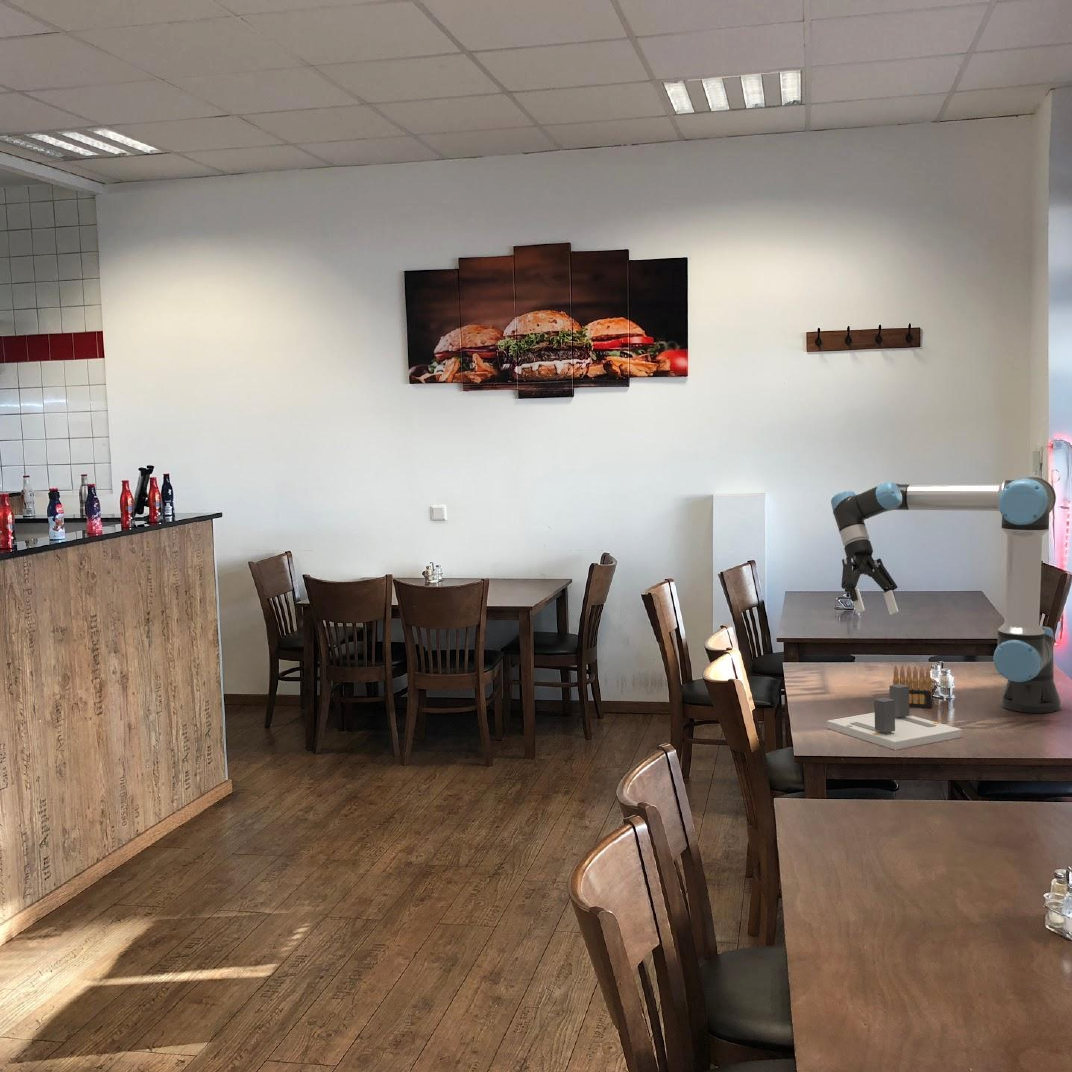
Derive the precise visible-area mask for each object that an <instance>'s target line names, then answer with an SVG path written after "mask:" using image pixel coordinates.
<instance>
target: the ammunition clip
mask: <svg viewBox="0 0 1072 1072" xmlns="http://www.w3.org/2000/svg"><path fill="white" fill-rule="evenodd" d="M898 670H899V669H898V666H897V664H895V665H894V668H893V680H892V685H897V684H902V685H906V686H909V709H911V708H913V709H914V708H915V709H930V710H931V709H933V697H932V678H931V670H930V666H929V665H927V667H926V671H924V668H923V665H921V666H920V668H919V677H918V669H917V665H914V667H913V672H912V671H911V667H910V665H908V666H907V668H906V675H905V668H904V665H901V666H900V671H898ZM899 672H900V673H899Z"/></svg>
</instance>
